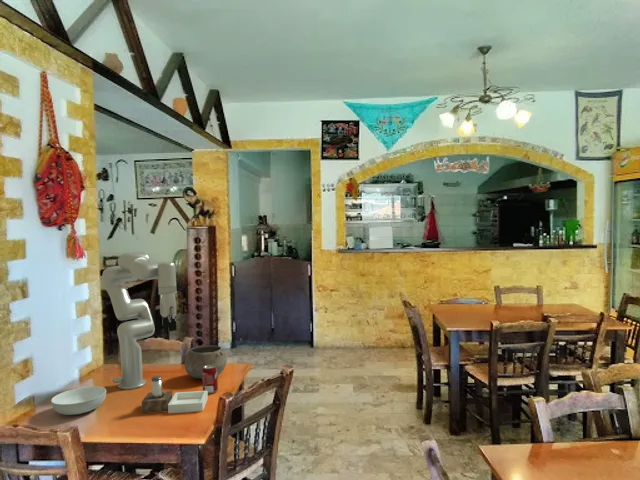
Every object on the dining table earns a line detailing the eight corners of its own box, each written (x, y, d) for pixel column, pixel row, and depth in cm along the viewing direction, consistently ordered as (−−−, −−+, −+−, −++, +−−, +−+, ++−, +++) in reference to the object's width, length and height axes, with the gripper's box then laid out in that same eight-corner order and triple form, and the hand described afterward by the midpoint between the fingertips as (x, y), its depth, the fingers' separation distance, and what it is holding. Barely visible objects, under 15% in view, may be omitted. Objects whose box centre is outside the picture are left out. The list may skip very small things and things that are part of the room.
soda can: (214, 394, 204) (213, 368, 204) (200, 394, 205) (199, 368, 205) (220, 389, 211) (219, 364, 210) (206, 388, 212) (206, 363, 212)
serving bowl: (112, 398, 203) (111, 383, 203) (99, 417, 183) (99, 401, 183) (61, 403, 199) (61, 388, 199) (43, 423, 178) (42, 406, 178)
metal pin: (151, 409, 189) (150, 379, 188) (154, 406, 193) (152, 376, 192) (161, 409, 189) (160, 378, 189) (163, 405, 193) (162, 375, 193)
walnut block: (142, 413, 186) (141, 401, 185) (148, 403, 196) (148, 392, 195) (166, 411, 187) (166, 399, 186) (172, 402, 197) (171, 391, 196)
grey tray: (168, 413, 185) (167, 405, 185) (175, 400, 199) (175, 392, 198) (202, 411, 186) (202, 402, 186) (207, 398, 200) (207, 390, 200)
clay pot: (182, 375, 234) (181, 346, 233) (222, 368, 242) (221, 341, 242) (188, 387, 214) (187, 356, 214) (231, 380, 223) (230, 350, 223)
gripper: (154, 289, 203) (156, 327, 203) (163, 293, 188) (166, 333, 188) (171, 288, 207) (173, 324, 207) (181, 291, 192) (183, 330, 192)
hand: (169, 328), depth 198 cm, fingers open, 9 cm apart
